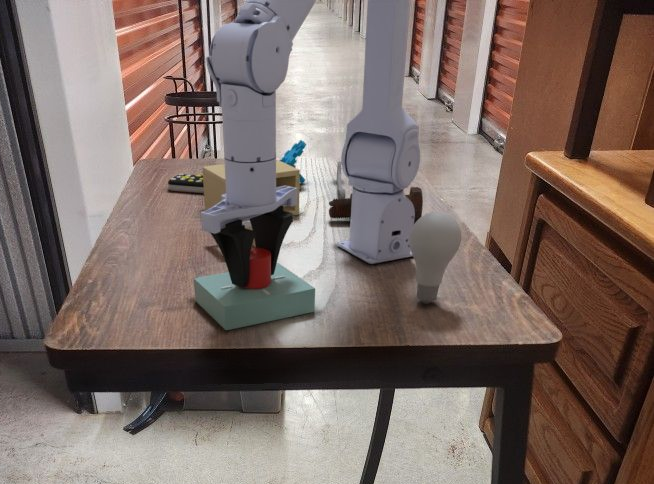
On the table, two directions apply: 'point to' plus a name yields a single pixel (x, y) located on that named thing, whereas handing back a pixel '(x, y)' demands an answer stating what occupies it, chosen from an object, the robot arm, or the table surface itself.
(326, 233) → the table surface
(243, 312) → the panel
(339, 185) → the combination wrench
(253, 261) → the cylinder
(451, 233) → the lightbulb
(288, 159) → the blue jagged angular piece
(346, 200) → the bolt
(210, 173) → the cabinet
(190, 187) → the remote control
